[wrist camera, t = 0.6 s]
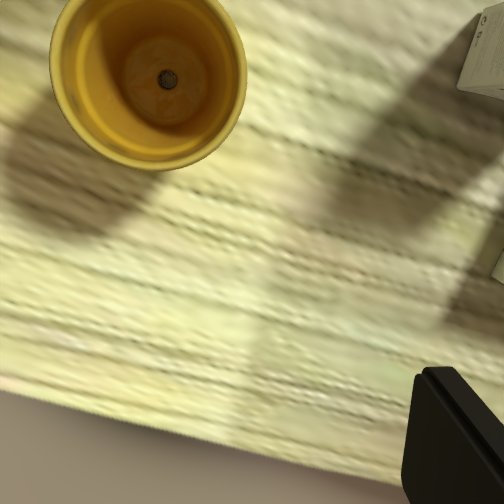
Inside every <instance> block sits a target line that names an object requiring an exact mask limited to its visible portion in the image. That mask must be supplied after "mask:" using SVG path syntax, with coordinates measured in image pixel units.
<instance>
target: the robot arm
mask: <svg viewBox="0 0 504 504" xmlns="http://www.w3.org/2000/svg"><path fill="white" fill-rule="evenodd" d="M401 480H402V485H403V489H404V491H405V493H406V495H407V498H408V500H409V502H410V504H504V425H503V424H502V423H501V422H500V421H499V419H498V418H497V417H496V416H495V415H494V414H493V412H492V411H491V410H490V409H489V408H488V407H487V406H486V404H485V403H484V402H483V401H482V400H481V399H480V397H479V396H478V395H477V394H476V393H475V392H474V390H473V389H472V388H471V387H470V386H469V385H468V384H467V382H466V381H465V380H464V379H463V378H462V377H461V375H460V374H459V373H458V372H457V371H456V370H455V369H454V368H453V367H450V366H446V367H425V368H424V369H423V371H422V374H417V375H416V376H415V379H414V384H413V391H412V398H411V405H410V413H409V420H408V427H407V434H406V441H405V448H404V455H403V462H402V469H401Z"/></svg>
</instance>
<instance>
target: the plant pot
mask: <svg viewBox="0 0 504 504" xmlns="http://www.w3.org/2000/svg"><path fill="white" fill-rule="evenodd" d="M49 71H50V78H51V83H52V88H53V91H54V95H55V98H56V100H57V103H58V105H59V108H60V110H61V112H62V114H63V116H64V117H65V119H66V120H67V122H68V124H69V125H70V126H71V128H72V129H73V130H74V132H75V133H76V134H77V135H78V136H79V137H80V138H81V139H82V140H83V141H84V142H85V143H86V144H87V145H88V146H89V147H90V148H91V149H93V150H94V151H95V152H97V153H98V154H100V155H101V156H103V157H105V158H106V159H108V160H110V161H112V162H115V163H117V164H119V165H122V166H125V167H128V168H132V169H136V170H142V171H153V172H161V171H171V170H176V169H180V168H184V167H187V166H189V165H192V164H194V163H196V162H198V161H200V160H202V159H204V158H205V157H207V156H208V155H210V154H211V153H212V152H213V151H215V150H216V149H217V148H218V147H219V146H220V145H221V144H222V143H223V142H224V141H225V139H226V138H227V137H228V135H229V134H230V133H231V131H232V130H233V128H234V126H235V124H236V122H237V120H238V118H239V116H240V114H241V111H242V108H243V105H244V101H245V96H246V90H247V63H246V57H245V51H244V48H243V44H242V41H241V39H240V36H239V33H238V31H237V29H236V27H235V25H234V23H233V21H232V20H231V18H230V16H229V15H228V13H227V12H226V11H225V9H224V8H223V6H222V5H221V4H220V3H219V2H218V1H217V0H69V1H68V2H67V4H66V5H65V7H64V8H63V10H62V12H61V14H60V15H59V17H58V19H57V22H56V25H55V27H54V30H53V34H52V38H51V43H50V51H49ZM164 71H170V72H173V73H174V74H175V75H176V77H177V84H176V86H175V87H174V88H172V89H165V88H163V87H162V86H161V84H160V82H159V76H160V74H161V73H162V72H164Z"/></svg>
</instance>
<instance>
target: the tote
mask: <svg viewBox="0 0 504 504" xmlns="http://www.w3.org/2000/svg"><path fill="white" fill-rule="evenodd" d="M491 276H492V277H494V278H495V279H497V280H498V281H500V282H501V283H503V284H504V251H503V252H502V254H501V256H500V258H499V260H498V262H497V264H496V266H495V268H494V270H493V271H492V273H491Z"/></svg>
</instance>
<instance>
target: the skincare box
mask: <svg viewBox="0 0 504 504" xmlns="http://www.w3.org/2000/svg"><path fill="white" fill-rule="evenodd" d="M456 87H457V89H459V90H462V91H467V92H474V93H478V94H482V95H486V96H490V97H494V98H497V99H501V100H504V2H503V3H499V4H496V5H493V6H491V7H488V8H485V9H484V10H483V12H482V15H481V17H480V20H479V23H478V26H477V29H476V32H475V35H474V38H473V41H472V43H471V46H470V49H469V52H468V54H467V57H466V59H465V62H464V65H463V68H462V71H461V74H460V77H459V80H458V82H457V86H456Z"/></svg>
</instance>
